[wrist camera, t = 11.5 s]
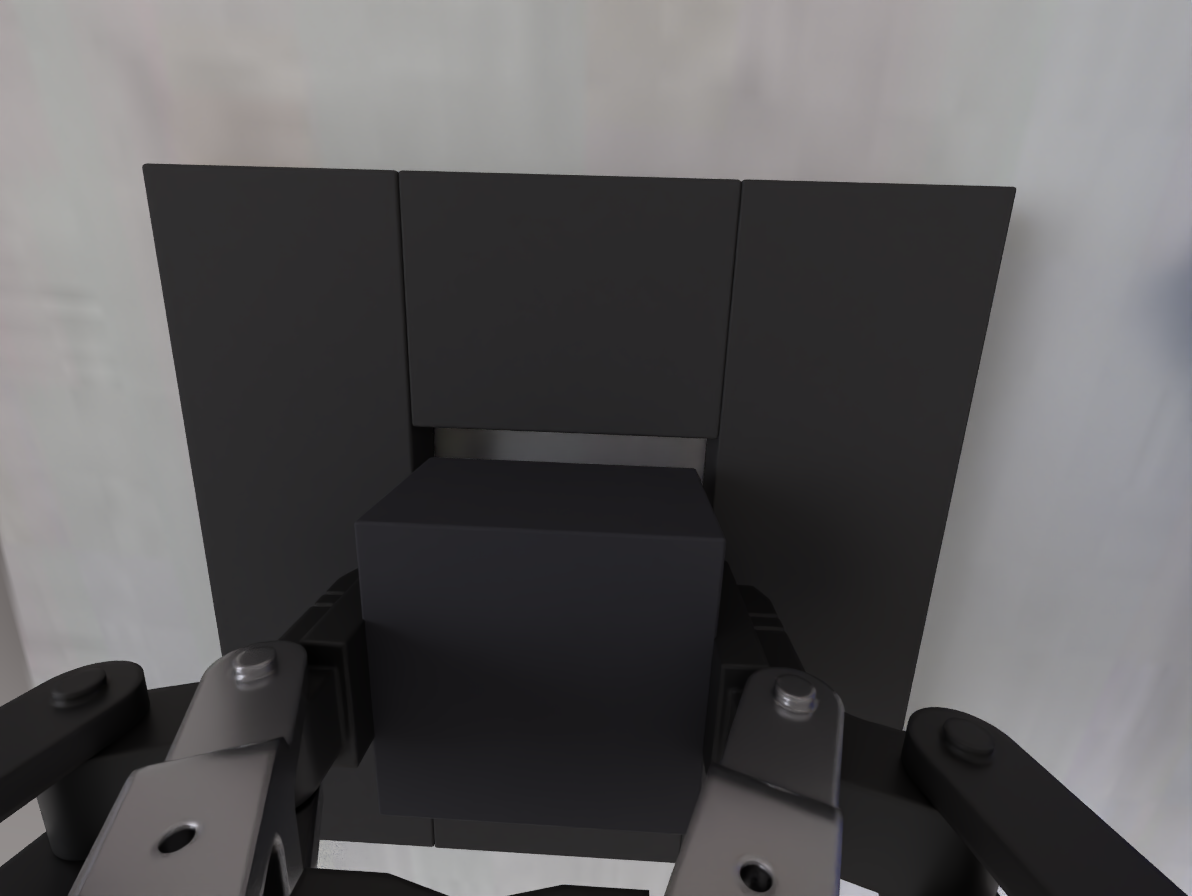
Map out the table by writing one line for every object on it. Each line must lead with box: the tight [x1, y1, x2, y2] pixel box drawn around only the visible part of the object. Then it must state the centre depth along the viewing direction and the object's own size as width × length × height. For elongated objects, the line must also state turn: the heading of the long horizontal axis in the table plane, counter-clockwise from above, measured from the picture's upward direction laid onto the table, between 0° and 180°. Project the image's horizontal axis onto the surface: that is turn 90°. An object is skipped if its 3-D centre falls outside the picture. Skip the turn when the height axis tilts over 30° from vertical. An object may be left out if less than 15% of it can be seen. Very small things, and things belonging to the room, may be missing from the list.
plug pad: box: [354, 457, 726, 835], centre depth 11 cm, size 6×6×4 cm
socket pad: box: [142, 164, 1016, 863], centre depth 13 cm, size 16×16×2 cm
